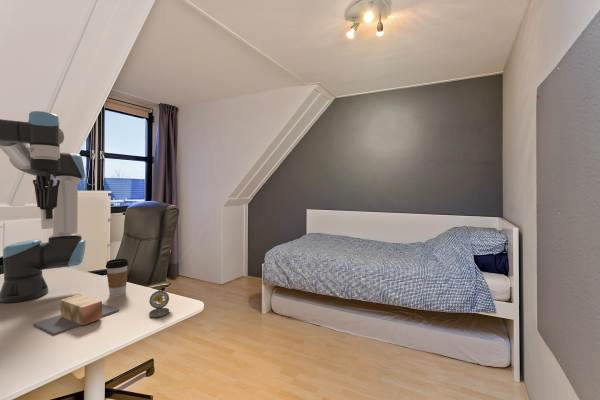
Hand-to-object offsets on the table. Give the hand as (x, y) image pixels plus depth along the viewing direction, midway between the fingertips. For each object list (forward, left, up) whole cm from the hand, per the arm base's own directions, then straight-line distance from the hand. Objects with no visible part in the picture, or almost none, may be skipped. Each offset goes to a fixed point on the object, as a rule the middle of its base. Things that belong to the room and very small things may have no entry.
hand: (47, 228), depth 96 cm
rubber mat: (+5, +6, -32) cm, 33 cm away
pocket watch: (+27, +22, -33) cm, 48 cm away
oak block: (+14, +6, -29) cm, 33 cm away
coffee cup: (-6, +26, -33) cm, 42 cm away
